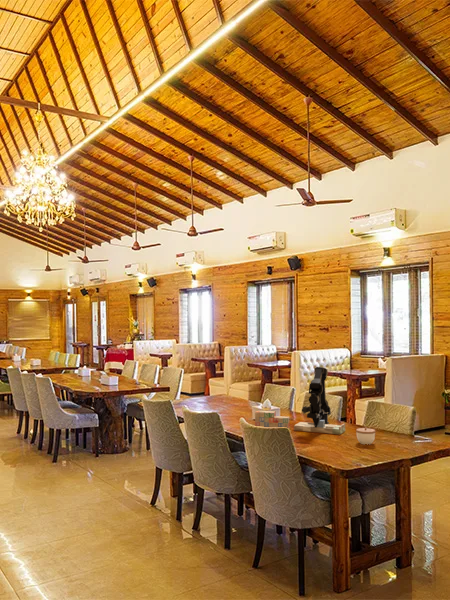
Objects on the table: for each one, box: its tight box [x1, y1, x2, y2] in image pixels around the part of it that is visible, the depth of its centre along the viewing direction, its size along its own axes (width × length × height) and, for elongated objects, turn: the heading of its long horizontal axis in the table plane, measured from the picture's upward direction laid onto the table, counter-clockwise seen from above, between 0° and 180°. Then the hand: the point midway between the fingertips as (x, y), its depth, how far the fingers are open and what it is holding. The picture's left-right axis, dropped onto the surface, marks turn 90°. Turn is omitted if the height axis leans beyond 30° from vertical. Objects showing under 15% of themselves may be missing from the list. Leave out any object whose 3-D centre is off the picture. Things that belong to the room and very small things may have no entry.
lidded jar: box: [355, 426, 376, 446], centre depth 321 cm, size 11×11×9 cm
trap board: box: [293, 421, 346, 435], centre depth 358 cm, size 13×30×4 cm, turn 65°
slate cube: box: [317, 420, 325, 428], centre depth 354 cm, size 4×4×4 cm
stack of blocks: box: [254, 410, 291, 429], centre depth 355 cm, size 21×6×12 cm, turn 74°
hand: (315, 427), depth 348 cm, fingers closed
